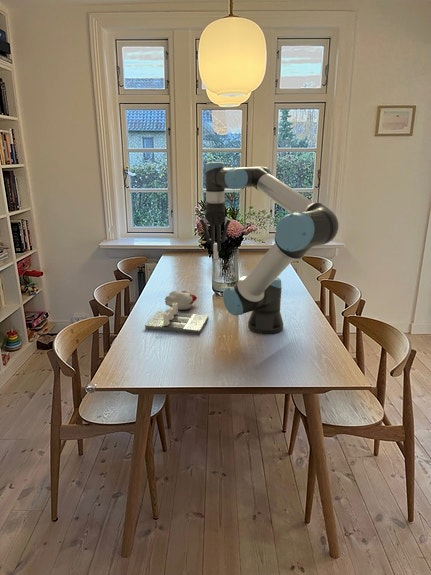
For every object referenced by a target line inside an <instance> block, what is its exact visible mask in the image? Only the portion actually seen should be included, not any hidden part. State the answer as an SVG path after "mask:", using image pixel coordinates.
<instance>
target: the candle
mask: <svg viewBox="0 0 431 575" xmlns="http://www.w3.org/2000/svg"><path fill="white" fill-rule="evenodd" d="M197 299H198V298H197V296H196V295H194V294H191V293H189V292H188V291H187V290H186V291H184V290H183V291H179V290H173V291H171V292H169V293H168V295H166V296H165V299H164V300H165V301H164V302H165V305H166V306H168V307H172V304H173V303H178V311H184V310H188V311H189V310H190V309H191V307H192V306H193V304H194V302H195V301H197Z"/></svg>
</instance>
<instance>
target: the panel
mask: <svg viewBox="0 0 431 575" xmlns="http://www.w3.org/2000/svg"><path fill="white" fill-rule="evenodd" d="M164 313H168V311H159V310H158V311H157V312H156V313H155V314H154V315H153V316H152V317H151V318H150V319H149V320H148V321H147V322H146V324H145V325H144V330H145V331H155V332H165V333H166V332H167V333H174V334H175V333H176V334H177V333H179V334H185V335H186V334H187V335H198V336H200V335H201V333H202V331H203V330H204V328H205V327H206V324H207V323H208V322H209V319H210V318H209V315H207V314H196V313H195V314H194V313H183V312H178V313H177V314H176V315H174V318H173V319H172V320H169V321H170V323H169V325H168V326H167V325H164V320H163V314H164Z"/></svg>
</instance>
